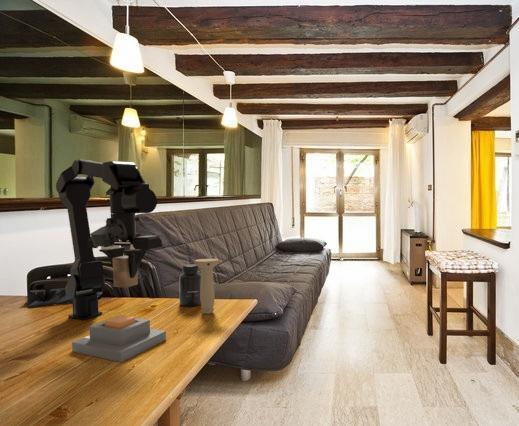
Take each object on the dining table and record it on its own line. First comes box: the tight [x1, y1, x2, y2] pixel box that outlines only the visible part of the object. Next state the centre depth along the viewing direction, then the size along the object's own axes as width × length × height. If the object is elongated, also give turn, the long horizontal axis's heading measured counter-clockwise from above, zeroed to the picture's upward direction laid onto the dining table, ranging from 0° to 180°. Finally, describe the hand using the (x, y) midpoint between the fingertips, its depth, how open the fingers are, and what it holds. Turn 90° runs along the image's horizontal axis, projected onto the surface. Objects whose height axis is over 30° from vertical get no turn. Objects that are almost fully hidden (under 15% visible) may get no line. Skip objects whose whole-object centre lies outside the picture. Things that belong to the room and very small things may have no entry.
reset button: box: [103, 314, 136, 329], centre depth 91 cm, size 5×5×3 cm
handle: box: [194, 258, 219, 315], centre depth 115 cm, size 5×6×15 cm
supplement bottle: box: [178, 263, 201, 308], centre depth 125 cm, size 7×7×12 cm
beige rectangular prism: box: [112, 255, 139, 289], centre depth 100 cm, size 4×4×7 cm
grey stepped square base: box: [71, 317, 167, 363], centre depth 91 cm, size 14×14×5 cm
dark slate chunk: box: [26, 287, 104, 308], centre depth 134 cm, size 15×22×5 cm
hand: (125, 277), depth 100 cm, fingers closed on beige rectangular prism, 4 cm apart
